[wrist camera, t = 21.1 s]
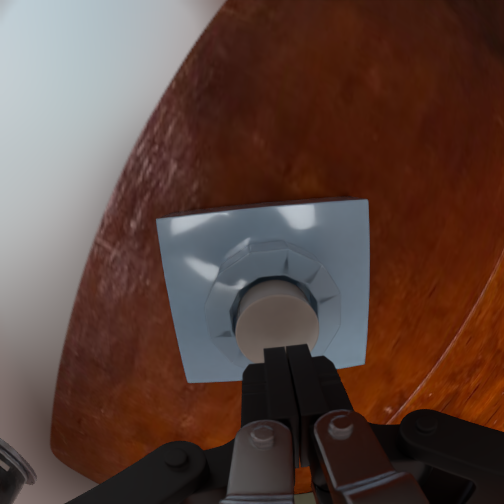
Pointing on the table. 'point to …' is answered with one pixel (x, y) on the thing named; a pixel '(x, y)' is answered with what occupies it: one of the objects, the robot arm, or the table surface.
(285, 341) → the short grey cylinder plug
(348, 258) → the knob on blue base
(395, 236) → the table surface
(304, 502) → the green block with peg
